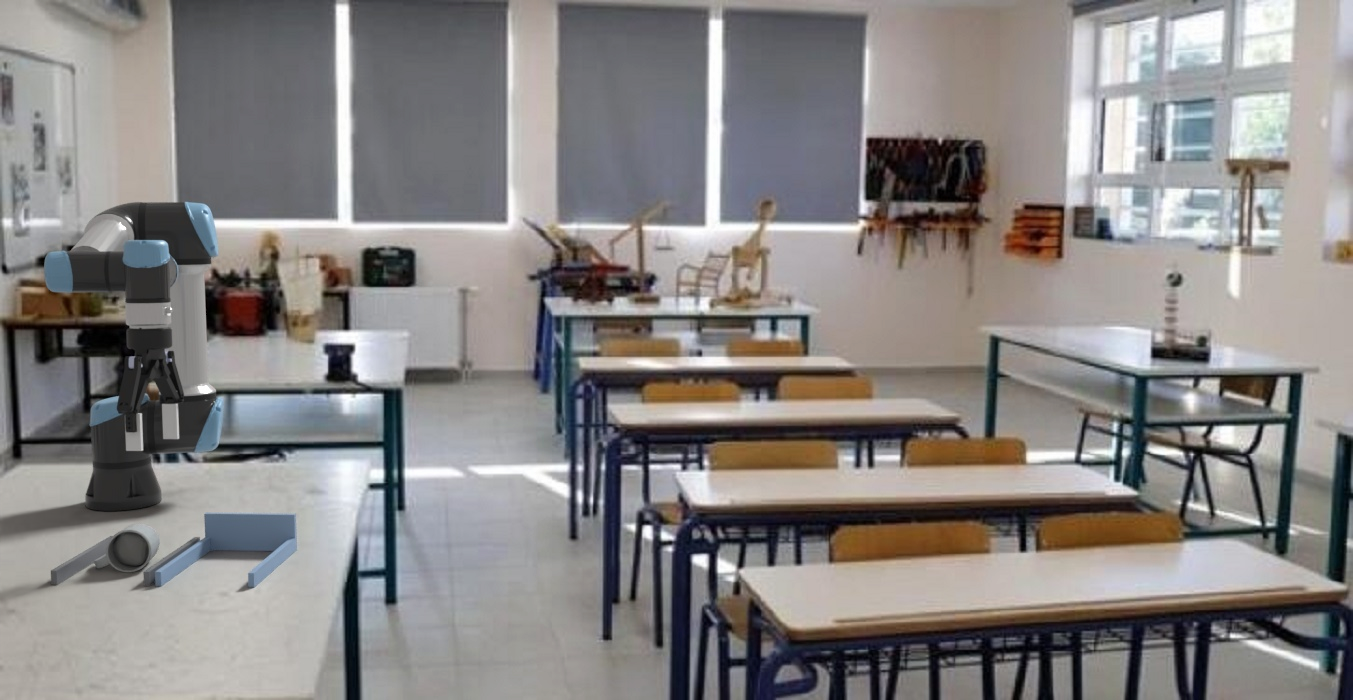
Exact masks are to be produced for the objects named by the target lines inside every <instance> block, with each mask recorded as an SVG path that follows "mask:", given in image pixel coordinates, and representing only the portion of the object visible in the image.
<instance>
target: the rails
mask: <svg viewBox="0 0 1353 700" xmlns="http://www.w3.org/2000/svg"><path fill="white" fill-rule="evenodd" d="M113 536H114V535H110V536H108V537H106V538H103V540H101V541H99V542H98V543H96V544H94V545H93V546H91V547H89V548H88V549H87V548H86V549H85V550H83V551H82V552H80V553H79V554H77V555H75V556H73V557H72V558H70V559H68V560H66V561H65V562H63V563H61V564H60V565H58V566H56V567H54V568H53V569H50V583H51V586H53V585H54V586H57V585H59V584H61V583H63V582H64V581H66V580H68V579H69V578H72V577H73V576H75V575H76V574H77V573H79V572H81V571H82V570H84V569H86V568H87V567H89V566H91V565H92V564H94V561H95V560H96V559H98V558H99V557H101V556H103V555H105V554H106V547H107V544H108V542H109V540H110V539H111V538H112V537H113ZM200 540H201V537H200V536H194V537H193V538H191V539H189V540H188V541H187V542H185V543H184V544H183V545H181V546H180V547H178V548H176V549H174V550H173V551H172V552H171V553H169V554H168V555H166V556H165V557H162V559H160V560H158V561H157V562H156V563H154V564H153V565H150V567H148V568H147V569H144V571H143V573H142V574H143V586H144V587H150V586H152V585H153V584H154V583H155V572H156V571H157V570H159V569H160V568H161V567H163V566H164V565H166V564H167V563H169V562H170V561H172V560H173V559H174V558H176V557H177V556H179V555H180V554H182V553H183V552H184V551H186V550H187V549H189V548H190V547H192V546H193V545H195V544H196V543H197V542H199V541H200ZM155 584H156V583H155Z"/></svg>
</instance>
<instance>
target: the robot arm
mask: <svg viewBox="0 0 1353 700" xmlns="http://www.w3.org/2000/svg"><path fill="white" fill-rule="evenodd" d="M218 244H219V243H218V235H217V230H216V225H215V220H214V216H213V213H212V211H211V208H210V207H209V206H208V205H207V204H205V203H201V202H189V201H184V202H182V201H179V202H176V201H175V202H174V201H172V202H171V201H170V202H167V201H165V202H164V201H163V202H151V201H150V202H142V201H135V202H133V201H132V202H127V203H122V204H119V205H116V206H113V207H110V208H108V209H105V210H103V211H101V212H99V213H98V214H96V215H94V216H93V217H92V218H91V219H90V220H89V221H88V223H86V225H85V227H84V231H83V236H82V237H81V238H80V239H79V241H78V242H76V244H75V245H73V247H72V248H71V250H66V251H65V250H61V251H60V250H58V251H50V252H48V253H47V254H46V256H45V259H44V264H43V265H44V267H43V269H44V271H43V272H44V275H43V276H44V280H45V285H46V287H47V290H50V292H51V293H66V294H71V293H75V294H77V293H124V294H125V296H124V298H125V303H124V304H125V325H127V326H129V328H127V329H126V333H125V334H126V347H127V348H128V349H129V350H134V356H132V355H131V356H129V355H128V356H127V355H126V356H124V366H123V367H124V370H123V375H122V380H121V383H120V389H119V395H118V396H117V395H116V396H112V397H108V398H105V399H101V400H99V401H96V402H95V403H93V404H92V406H91V408H90V417H89V418H90V420H89V427H90V440H91V456H92V473H91V475H90V480H89V482H88V485H87V489H86V492H85V494H84V495H85V496H84V498H85V499H84V501H85V507H86V508H88V509H89V510H90V509H91V510H93V511H94V510H95V511H101V512H103V511H104V512H105V511H106V512H114V511H129V510H137V509H143V508H148V507H151V506H154V505H157V504H159V503H160V502H161V501H162V499H163V498H162V488H161V486H160V482H159V480H158V478H157V476H156V474H155V471H154V469H153V466H152V455H161V454H162V455H165V454H181V453H182V454H184V453H193V454H197V453H204V452H212V451H214V450H216V449H217V448H218V446H219V444H220V440H221V435H222V427H223V419H224V409H225V407H224V405H225V403H224V398H221V397H220V396H219V397H217V389H216V388H215V387H213V385H211V384H210V383H209V368H208V367H209V364H208V362H209V361H208V341H207V340H208V339H207V315H206V314H207V313H206V311H207V309H206V287H205V286H206V285H205V284H206V282H205V272H207V270H208V269H210V268H211V266H212V258H216V257H218V256H219V245H218ZM153 381H154V382H155V385H156V387H157V389H158V391H159V392H158V399H157V400H156V399H155V400H150V397H149V394H148V393H146V391H147V390H148V386H149V383H152V382H153Z"/></svg>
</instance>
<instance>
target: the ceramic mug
mask: <svg viewBox="0 0 1353 700" xmlns="http://www.w3.org/2000/svg"><path fill="white" fill-rule="evenodd" d="M112 536H113V537H112V538H111V539H110V540H109V542H108V544H107V547H106V554H105V555H103V556H101V557H99V558H98V559H96V560H95V561H94V563H93V564H94V565H95V567H96V569H97V570H98V569H102V568H104V567H107V566H109V565H110V566H112V568H114V570H117V571H119V572H121V573H135V572H139V571H140V570H141V569H143V568H145V566H146V565H148V564H149V562H150V561H151V560H152V559H153V558H154V557H155V556H156V554H157V553H158V551H159V548H160V543H161V542H160V536H159V534H158V532H157V531H156V529H154V528H153V527H152V526H150V525H148V524H145V523H134V524H130V525H128V526H126V527H124V528H123V529H121V530H119V531H118V532H116V533H115V534H114V535H112Z"/></svg>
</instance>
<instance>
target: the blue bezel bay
mask: <svg viewBox="0 0 1353 700" xmlns="http://www.w3.org/2000/svg"><path fill="white" fill-rule="evenodd" d="M203 514H204V516H203V517H204V538H202V539H200V541H199V542H197V543H196V544H195V545H193V546H192V547H190V548H189V549H187V550H186V551H184V552H183V553H182V554H180V555H179V556H177V557H176V558H174V559H173V560H172V561H170V562H169V563H167V564H166V565H164V566H163V567H161V568H160V569H159V570H157V571H156V572H155V587H163V586H164V585H165V584H167V583H168V582H170V581H171V580H172V579H173V578H175V577H176V576H178V575H179V574H181V573H182V572H184V570H186V569H187V568H189V567H190V566H191V565H193V564H194V563H195V562H197V561H198V560H199V559H201V558H203V557H204V556H206V555H207V554H208V553H210V551H238V552H239V551H242V552H243V551H246V552H249V551H250V552H251V551H253V552H255V551H256V552H257V551H258V552H261V551H262V552H263V551H264V552H271V553H270V554H269V555H268V556H266V558H264V559H263V560H262V561H261V562H259V563H258V564H256V566H254V568H252V569H251V570H249V572H248V573H247V582H248V588H256V586H258V585H259V584H260V583H261V582H262V581H263V580H264V579H266V578H267V577H268V576H269V575H270V574H271V573H272V572H274V571H275V569H277V568H278V567H279V566H280V565H282V563H284V562H285V561H286V560H287V559H288V558H290V557H291V556H292V555H293V554H294V553H295V552H296V551H297V550H298V541H297V539H298V538H297V537H298V536H297V533H298V532H297V513H291V512H290V513H289V512H288V513H285V512H284V513H281V512H280V513H279V512H278V513H277V512H276V513H273V512H272V513H271V512H263V513H262V512H205V513H203Z"/></svg>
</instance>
